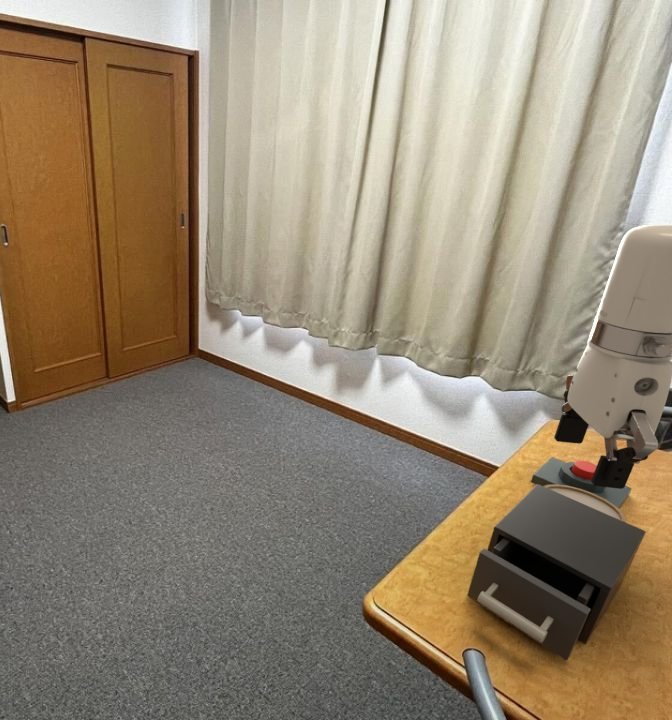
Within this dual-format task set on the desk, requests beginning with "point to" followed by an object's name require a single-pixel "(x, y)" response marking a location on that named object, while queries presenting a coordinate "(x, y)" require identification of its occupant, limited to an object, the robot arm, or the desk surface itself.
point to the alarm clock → (588, 500)
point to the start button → (583, 469)
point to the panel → (576, 481)
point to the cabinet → (573, 543)
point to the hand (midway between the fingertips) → (585, 462)
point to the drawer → (533, 595)
